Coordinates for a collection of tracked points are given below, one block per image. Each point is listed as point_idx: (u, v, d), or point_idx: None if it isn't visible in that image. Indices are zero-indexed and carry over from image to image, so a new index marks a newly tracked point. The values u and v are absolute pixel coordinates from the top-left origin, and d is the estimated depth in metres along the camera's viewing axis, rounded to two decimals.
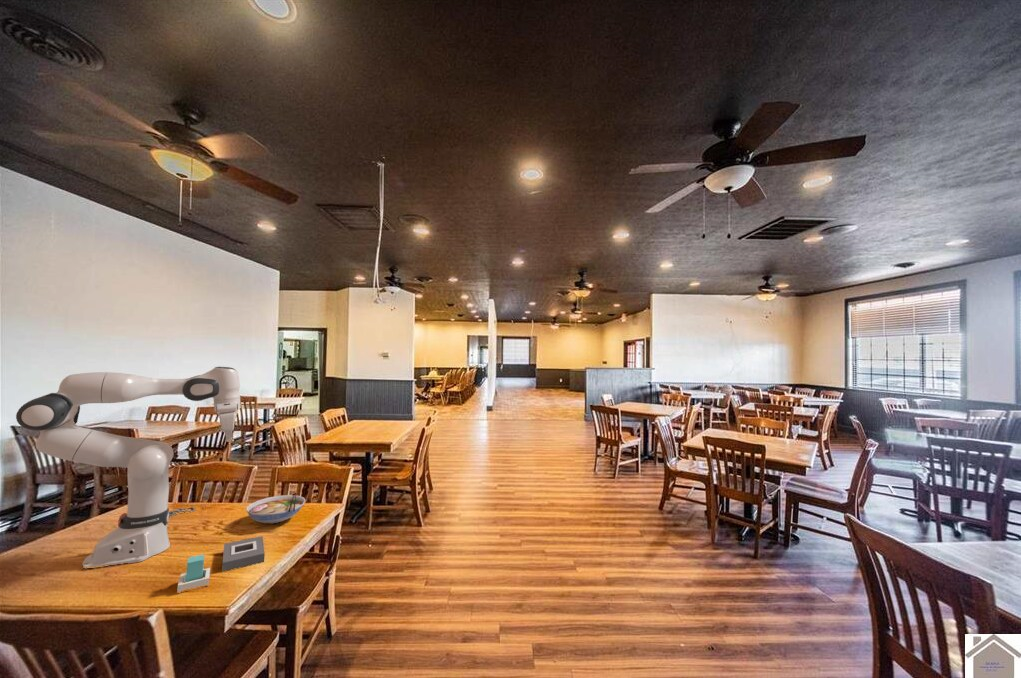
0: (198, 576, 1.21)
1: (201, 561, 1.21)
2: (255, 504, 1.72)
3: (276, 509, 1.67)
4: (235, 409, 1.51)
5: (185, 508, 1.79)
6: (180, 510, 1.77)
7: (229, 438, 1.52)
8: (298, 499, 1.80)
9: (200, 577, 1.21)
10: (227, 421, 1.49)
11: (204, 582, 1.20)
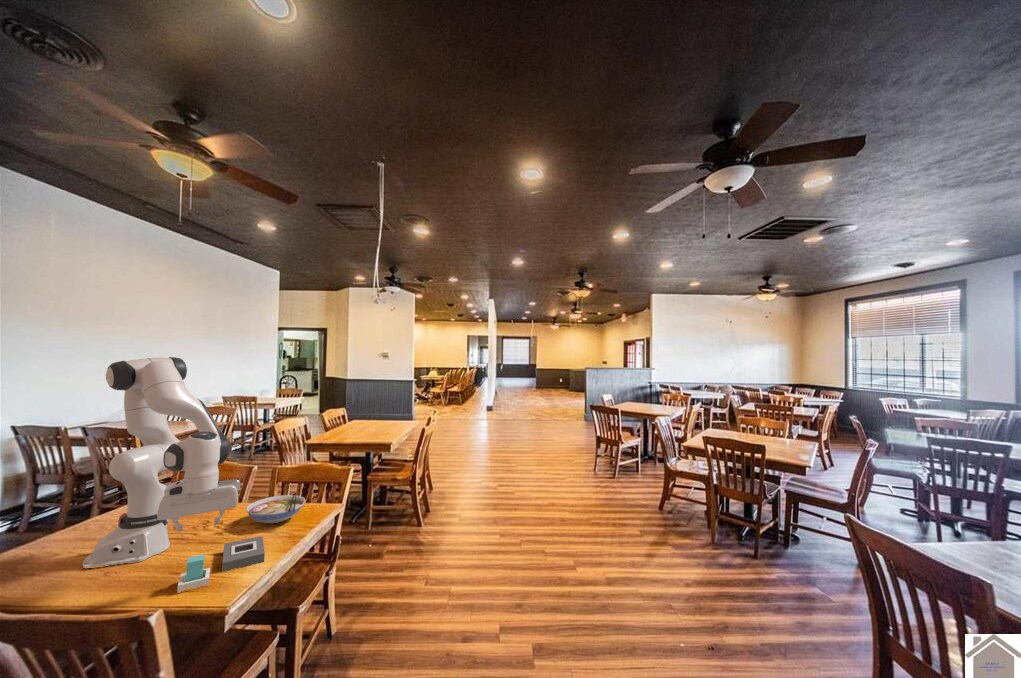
0: (198, 576, 1.21)
1: (201, 561, 1.21)
2: (255, 504, 1.72)
3: (276, 509, 1.67)
4: None
5: None
6: None
7: None
8: (298, 499, 1.80)
9: (200, 577, 1.21)
10: None
11: (204, 582, 1.20)
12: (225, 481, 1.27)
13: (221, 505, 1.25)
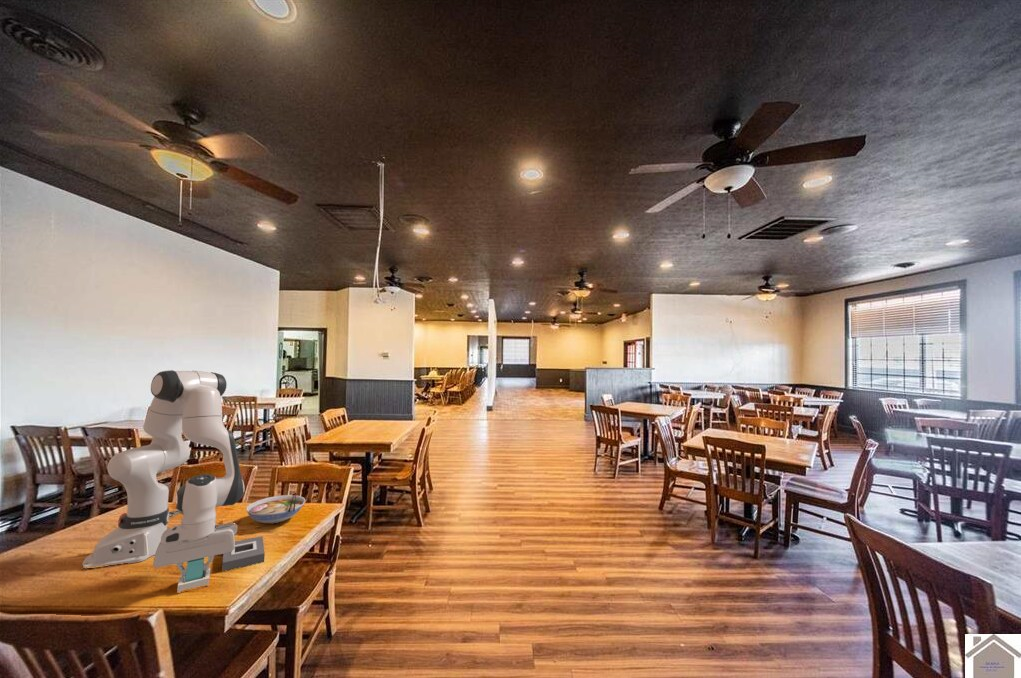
0: (198, 576, 1.21)
1: (201, 561, 1.21)
2: (255, 504, 1.72)
3: (276, 509, 1.67)
4: (161, 541, 1.15)
5: None
6: None
7: (181, 572, 1.20)
8: (298, 499, 1.80)
9: (200, 577, 1.21)
10: None
11: (204, 582, 1.20)
12: (222, 525, 1.26)
13: (218, 550, 1.24)
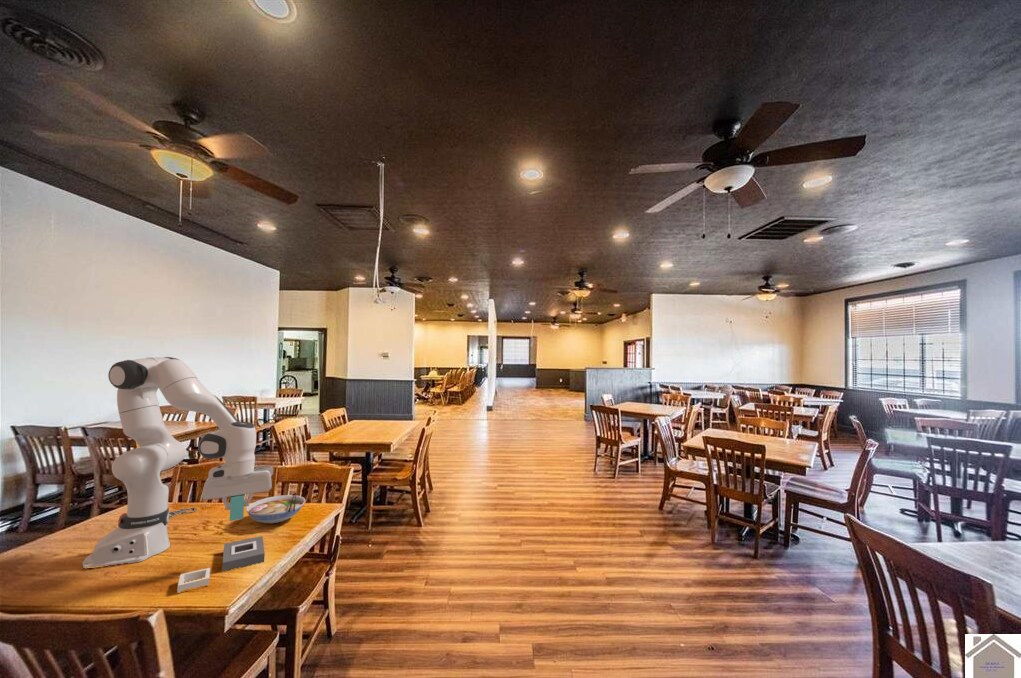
0: (240, 510, 1.35)
1: (242, 497, 1.35)
2: (255, 504, 1.72)
3: (276, 509, 1.67)
4: None
5: (186, 508, 1.78)
6: (182, 510, 1.76)
7: (225, 505, 1.34)
8: (298, 499, 1.80)
9: (242, 511, 1.35)
10: None
11: (204, 582, 1.20)
12: (260, 466, 1.40)
13: (257, 488, 1.38)
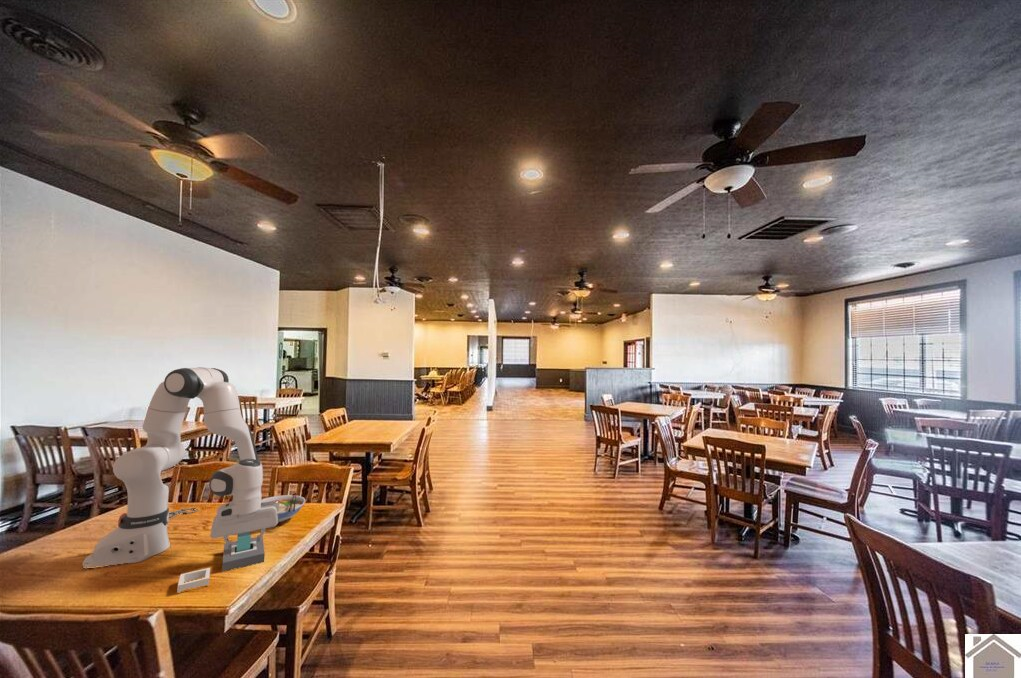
0: None
1: (249, 537, 1.38)
2: None
3: None
4: (217, 515, 1.33)
5: (187, 509, 1.78)
6: (182, 511, 1.76)
7: None
8: (298, 499, 1.80)
9: None
10: (212, 525, 1.34)
11: (204, 582, 1.20)
12: (267, 503, 1.43)
13: (263, 524, 1.41)
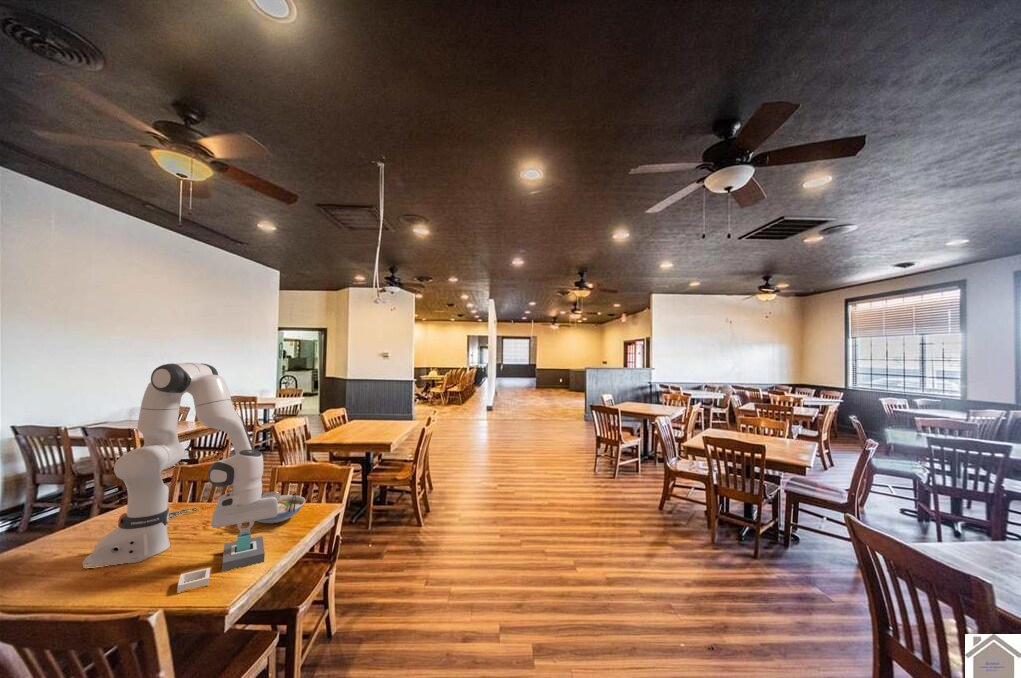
0: None
1: (249, 537, 1.38)
2: None
3: None
4: (217, 505, 1.33)
5: (188, 509, 1.78)
6: (183, 511, 1.76)
7: (240, 531, 1.38)
8: (298, 499, 1.80)
9: None
10: None
11: (204, 582, 1.20)
12: (267, 493, 1.44)
13: (264, 514, 1.41)
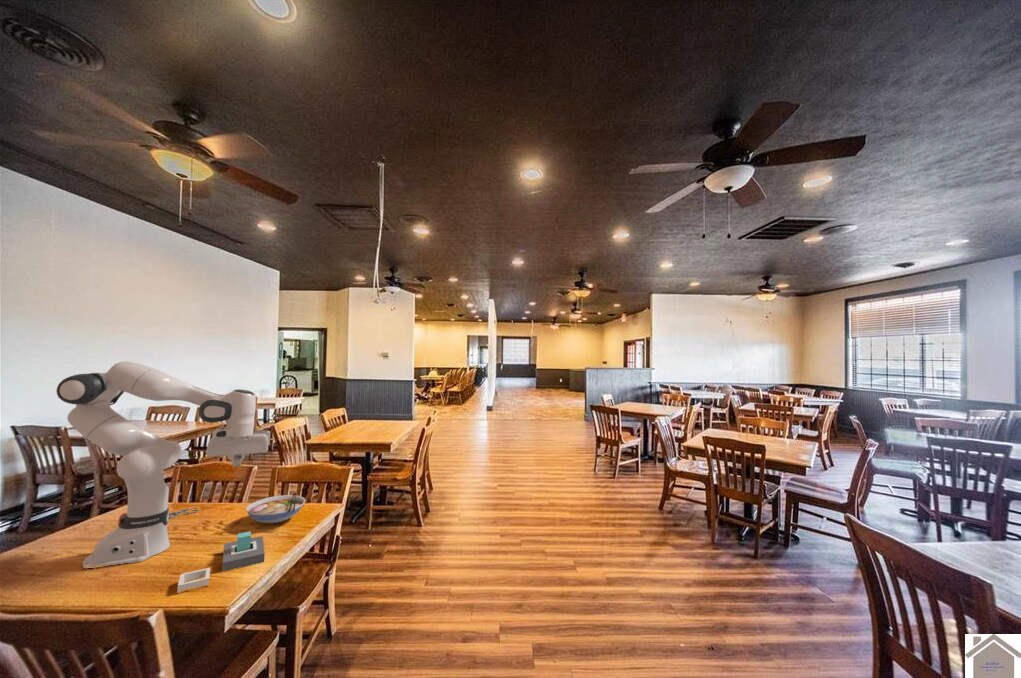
0: None
1: (249, 537, 1.38)
2: (255, 504, 1.72)
3: (276, 509, 1.67)
4: (212, 435, 1.45)
5: (188, 509, 1.78)
6: (183, 511, 1.76)
7: (232, 463, 1.50)
8: (298, 499, 1.80)
9: None
10: None
11: (204, 582, 1.20)
12: (259, 430, 1.55)
13: (255, 449, 1.53)
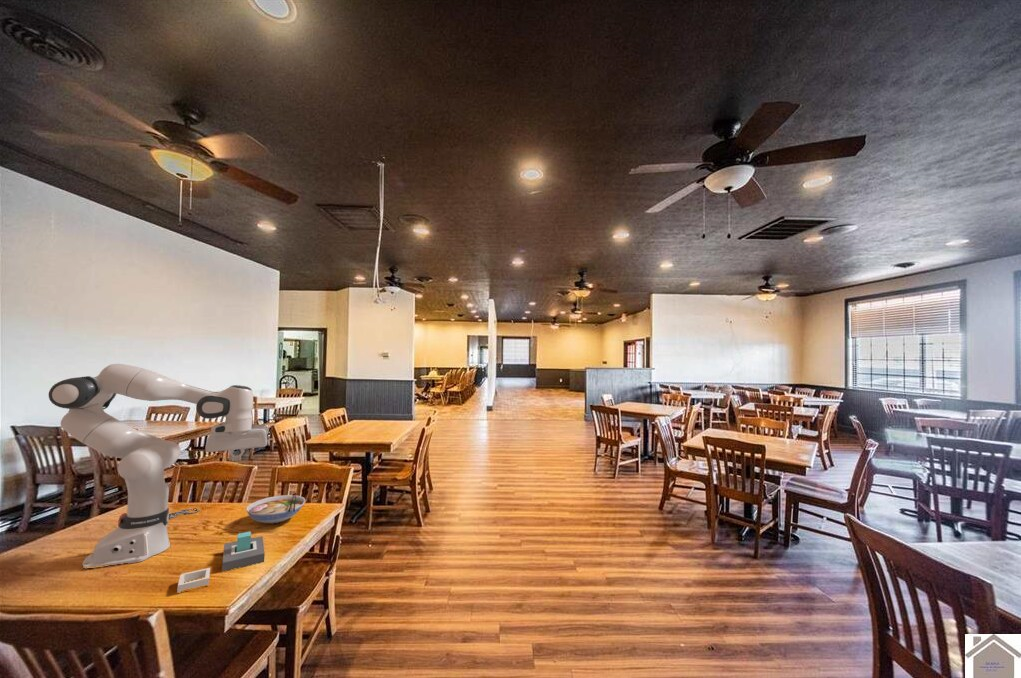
0: None
1: (249, 537, 1.38)
2: (255, 504, 1.72)
3: (276, 509, 1.67)
4: (211, 431, 1.47)
5: (188, 509, 1.78)
6: (184, 511, 1.76)
7: (232, 458, 1.52)
8: (298, 499, 1.80)
9: None
10: None
11: (204, 582, 1.20)
12: (257, 425, 1.57)
13: (254, 444, 1.55)
